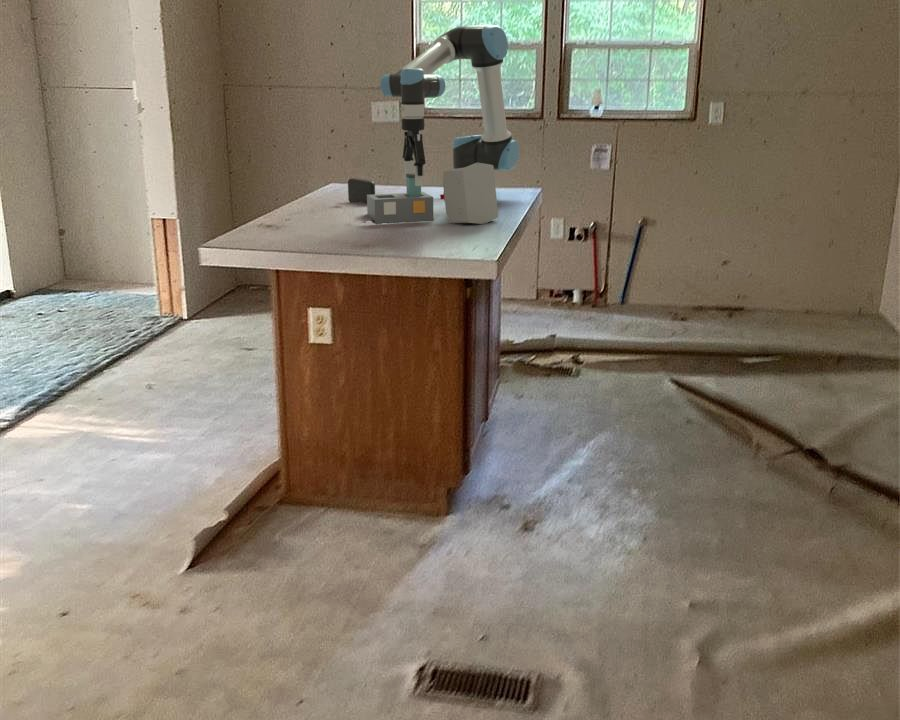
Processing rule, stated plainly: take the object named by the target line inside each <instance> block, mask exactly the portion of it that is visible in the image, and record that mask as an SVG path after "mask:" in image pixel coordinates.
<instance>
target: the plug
mask: <svg viewBox="0 0 900 720" xmlns="http://www.w3.org/2000/svg"><path fill="white" fill-rule="evenodd" d="M405 183H406V193H407V197H415V196H421V192H422V186H415V172H413V173H411V174H406V181H405Z"/></svg>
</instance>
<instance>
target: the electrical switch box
mask: <svg viewBox="0 0 900 720" xmlns="http://www.w3.org/2000/svg"><path fill="white" fill-rule="evenodd" d="M442 186H443V188H442V190H443V194H440V195H439V198H440V200H444V208H445V214H446V217H447V219H448V222H449V224H478V225H479V224H480V225H484V224H487V223H489V222H491V221H493V220H495V219H496V220H497V219H498V217H499V209H498V208H499V207H498V201H497V197H498V196H497V190H496V189H497V186H496V178H495V170H494V166H493V165H490V164H484V163H475V164H472V165H470V166H467V167H465V168H458V169H453V168H452V169H451V168H450V169H445V170H443V176H442Z"/></svg>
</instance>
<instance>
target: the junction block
mask: <svg viewBox="0 0 900 720" xmlns="http://www.w3.org/2000/svg"><path fill="white" fill-rule="evenodd" d="M366 206H367V208H366V211H367V213H366V214H367V215H368V216H369V217H370V218H372V219H370V220H371V221H370V222H372V223H373V224H374V223H375V225H383V224H382V223H387V224H399V222H405V223H419V222H420V223H421V222H422V223H423V222H434V196H432V195H430V194H428V193H426V192H423V191H421V196H415V197H407V192H399V193H379V194H378V193H377V194H376V193H375V194H373V195H367V203H366Z"/></svg>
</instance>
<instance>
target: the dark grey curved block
mask: <svg viewBox="0 0 900 720" xmlns="http://www.w3.org/2000/svg"><path fill="white" fill-rule="evenodd" d="M347 188H348V189H347V194H348V196H347V197H348V198H347V199H348V202H349V203H364V204H367V195H373V194H376V183H375V181H373V180H371V179H367V178H356V177H355V178H354V177H353V178H349V179H348V180H347Z"/></svg>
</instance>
